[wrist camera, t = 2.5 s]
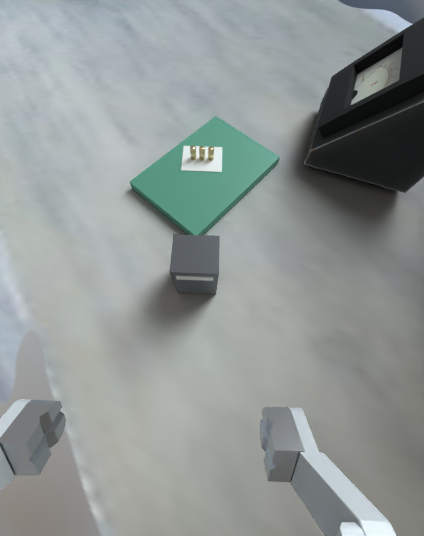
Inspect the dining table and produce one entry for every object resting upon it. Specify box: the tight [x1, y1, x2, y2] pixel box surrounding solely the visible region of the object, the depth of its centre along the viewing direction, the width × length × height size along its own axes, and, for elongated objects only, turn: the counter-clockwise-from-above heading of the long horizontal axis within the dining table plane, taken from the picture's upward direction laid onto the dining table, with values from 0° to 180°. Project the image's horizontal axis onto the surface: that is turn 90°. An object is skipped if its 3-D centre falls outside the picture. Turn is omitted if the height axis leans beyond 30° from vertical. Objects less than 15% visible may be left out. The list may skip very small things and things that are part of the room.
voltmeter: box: [304, 18, 424, 193], centre depth 33 cm, size 16×16×20 cm
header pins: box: [190, 146, 214, 161], centre depth 37 cm, size 1×4×2 cm, turn 88°
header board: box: [130, 116, 280, 235], centre depth 38 cm, size 20×14×2 cm
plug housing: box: [170, 234, 219, 295], centre depth 29 cm, size 5×4×8 cm
